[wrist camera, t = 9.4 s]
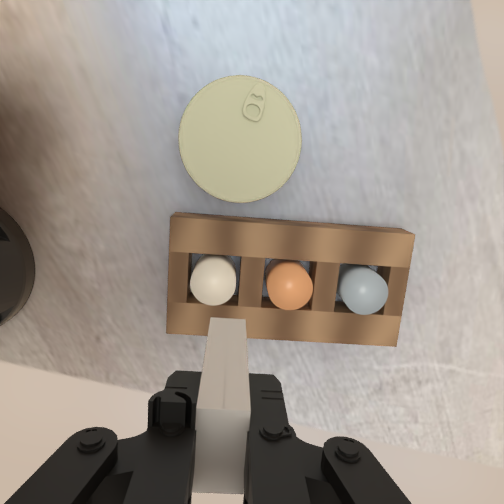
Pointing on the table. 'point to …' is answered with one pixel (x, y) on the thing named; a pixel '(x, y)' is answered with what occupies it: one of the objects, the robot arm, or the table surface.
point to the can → (240, 139)
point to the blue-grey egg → (361, 288)
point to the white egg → (213, 279)
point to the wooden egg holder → (292, 248)
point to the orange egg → (288, 284)
